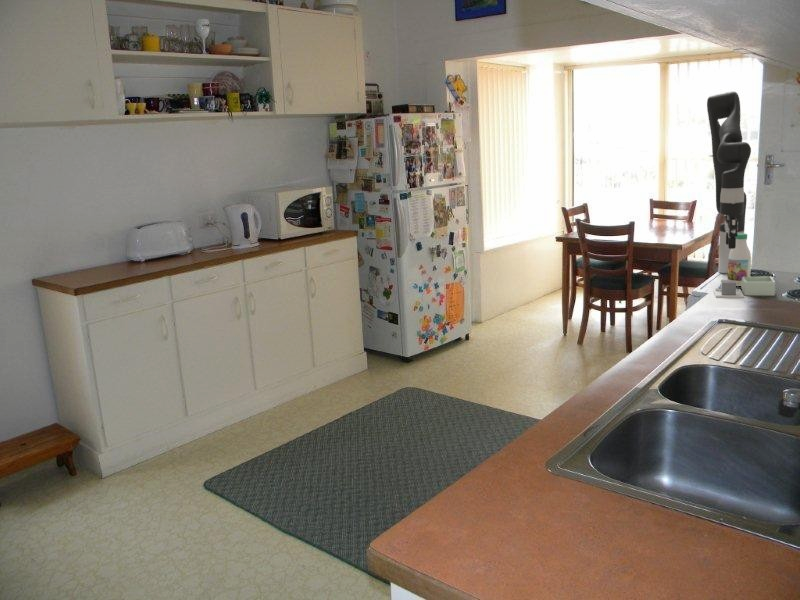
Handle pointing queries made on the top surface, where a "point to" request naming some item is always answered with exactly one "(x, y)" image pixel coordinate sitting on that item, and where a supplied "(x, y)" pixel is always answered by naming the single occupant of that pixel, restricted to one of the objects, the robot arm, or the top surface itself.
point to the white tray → (718, 295)
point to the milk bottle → (739, 260)
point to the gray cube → (728, 287)
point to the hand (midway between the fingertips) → (730, 246)
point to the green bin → (758, 286)
